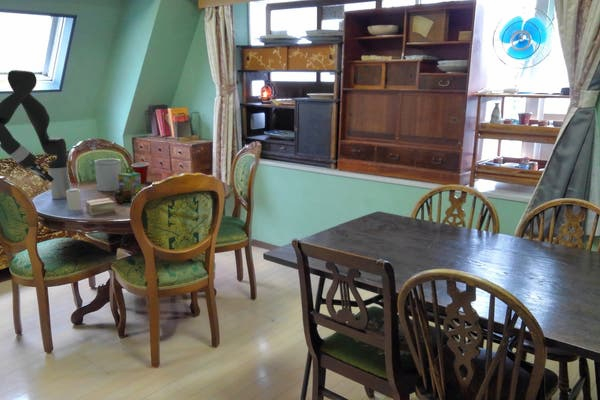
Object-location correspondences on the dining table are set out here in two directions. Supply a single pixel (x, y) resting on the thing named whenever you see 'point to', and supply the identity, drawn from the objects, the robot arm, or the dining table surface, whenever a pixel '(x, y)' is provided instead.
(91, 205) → the block
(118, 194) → the decorative turtle
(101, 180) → the utensil holder
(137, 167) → the plastic cup
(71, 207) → the tin
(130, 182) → the chalk box
